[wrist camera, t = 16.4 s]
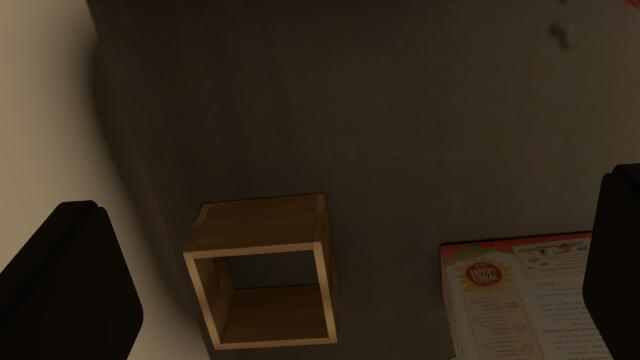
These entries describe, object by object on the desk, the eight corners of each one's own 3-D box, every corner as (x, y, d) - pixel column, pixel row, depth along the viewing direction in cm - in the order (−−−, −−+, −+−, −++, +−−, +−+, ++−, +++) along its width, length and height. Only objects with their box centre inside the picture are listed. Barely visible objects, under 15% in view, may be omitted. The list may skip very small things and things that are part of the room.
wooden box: (203, 203, 48) (182, 252, 42) (324, 192, 47) (321, 241, 41) (230, 295, 53) (214, 350, 47) (339, 287, 52) (337, 343, 46)
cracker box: (440, 291, 52) (488, 520, 34) (438, 241, 49) (490, 464, 31) (592, 281, 50) (727, 515, 32) (600, 229, 47) (754, 455, 29)
